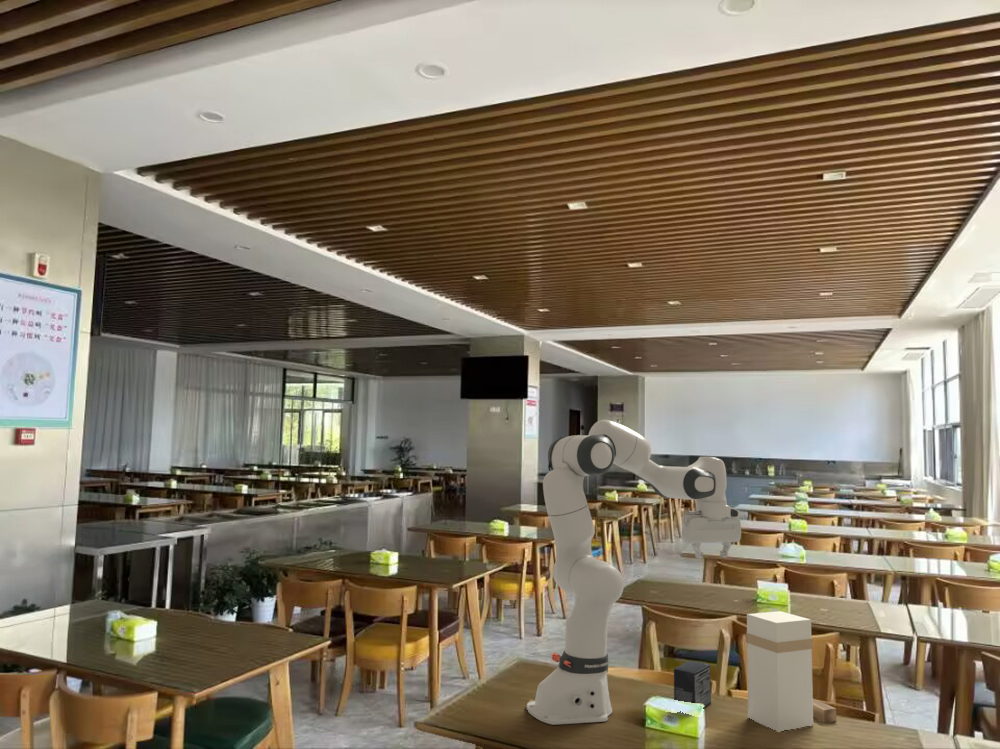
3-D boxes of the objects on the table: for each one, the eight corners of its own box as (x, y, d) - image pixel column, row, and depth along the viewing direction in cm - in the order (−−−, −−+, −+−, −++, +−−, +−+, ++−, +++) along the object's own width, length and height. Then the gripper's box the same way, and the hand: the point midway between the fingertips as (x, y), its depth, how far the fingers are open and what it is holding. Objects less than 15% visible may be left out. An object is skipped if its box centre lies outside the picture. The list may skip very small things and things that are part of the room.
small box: (689, 698, 191) (689, 659, 192) (711, 704, 187) (711, 664, 188) (672, 708, 183) (672, 667, 184) (695, 714, 179) (695, 672, 180)
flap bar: (824, 724, 176) (823, 710, 176) (771, 699, 194) (771, 686, 194) (836, 722, 177) (836, 708, 178) (783, 697, 195) (782, 685, 195)
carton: (778, 732, 168) (776, 623, 171) (747, 717, 178) (746, 614, 181) (814, 726, 173) (811, 619, 177) (782, 711, 183) (780, 611, 186)
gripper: (691, 511, 200) (691, 560, 198) (744, 511, 208) (745, 558, 207) (677, 510, 205) (677, 557, 204) (729, 509, 214) (729, 555, 212)
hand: (711, 557), depth 205 cm, fingers open, 8 cm apart
